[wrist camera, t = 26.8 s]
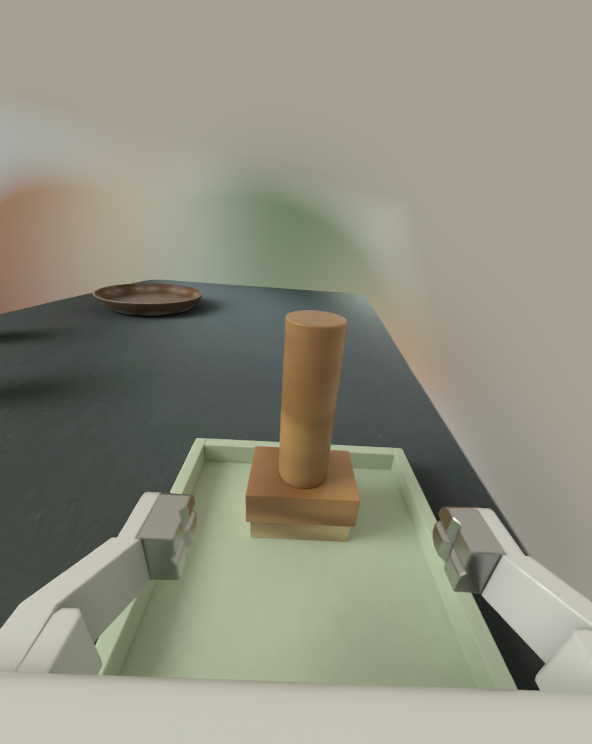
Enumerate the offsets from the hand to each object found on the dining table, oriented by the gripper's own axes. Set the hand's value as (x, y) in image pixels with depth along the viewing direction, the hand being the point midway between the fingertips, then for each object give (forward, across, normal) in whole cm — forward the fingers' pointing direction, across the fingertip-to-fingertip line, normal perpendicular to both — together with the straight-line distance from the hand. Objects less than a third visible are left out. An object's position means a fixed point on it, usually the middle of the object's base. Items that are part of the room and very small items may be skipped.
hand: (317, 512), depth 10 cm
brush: (+6, 0, +8) cm, 10 cm away
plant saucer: (+58, +31, +8) cm, 66 cm away
